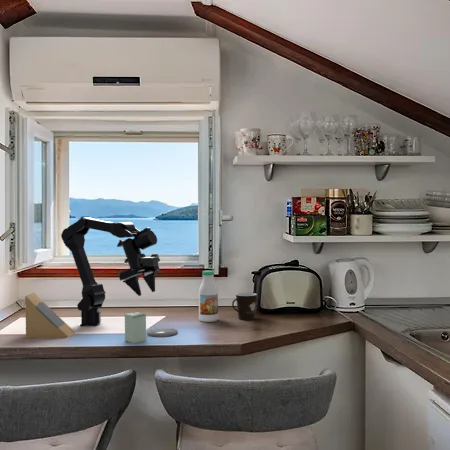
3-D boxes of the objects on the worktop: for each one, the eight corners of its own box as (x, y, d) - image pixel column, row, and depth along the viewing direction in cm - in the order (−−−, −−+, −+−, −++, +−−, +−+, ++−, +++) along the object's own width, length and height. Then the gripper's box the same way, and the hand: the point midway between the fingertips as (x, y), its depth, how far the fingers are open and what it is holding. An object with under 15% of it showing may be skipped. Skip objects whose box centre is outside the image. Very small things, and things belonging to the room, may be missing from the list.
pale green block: (125, 340, 173) (124, 314, 173) (138, 337, 177) (137, 312, 177) (132, 343, 169) (132, 316, 169) (146, 340, 173) (145, 314, 173)
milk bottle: (194, 320, 204) (194, 270, 203) (208, 317, 210) (208, 269, 209) (208, 323, 199) (208, 272, 198) (222, 320, 204) (221, 270, 204)
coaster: (144, 337, 178) (144, 335, 178) (149, 329, 189) (149, 328, 189) (176, 336, 178) (176, 335, 178) (179, 329, 189) (179, 327, 189)
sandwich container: (69, 338, 178) (68, 295, 177) (25, 338, 177) (24, 296, 177) (76, 332, 186) (75, 291, 186) (34, 332, 186) (33, 292, 186)
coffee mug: (252, 315, 212) (252, 292, 212) (260, 320, 204) (260, 295, 204) (226, 317, 208) (225, 293, 208) (233, 322, 200) (232, 297, 200)
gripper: (135, 248, 177) (150, 290, 175) (163, 244, 194) (177, 283, 192) (111, 259, 182) (125, 300, 180) (141, 254, 199) (154, 292, 197)
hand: (147, 293), depth 187 cm, fingers open, 9 cm apart
